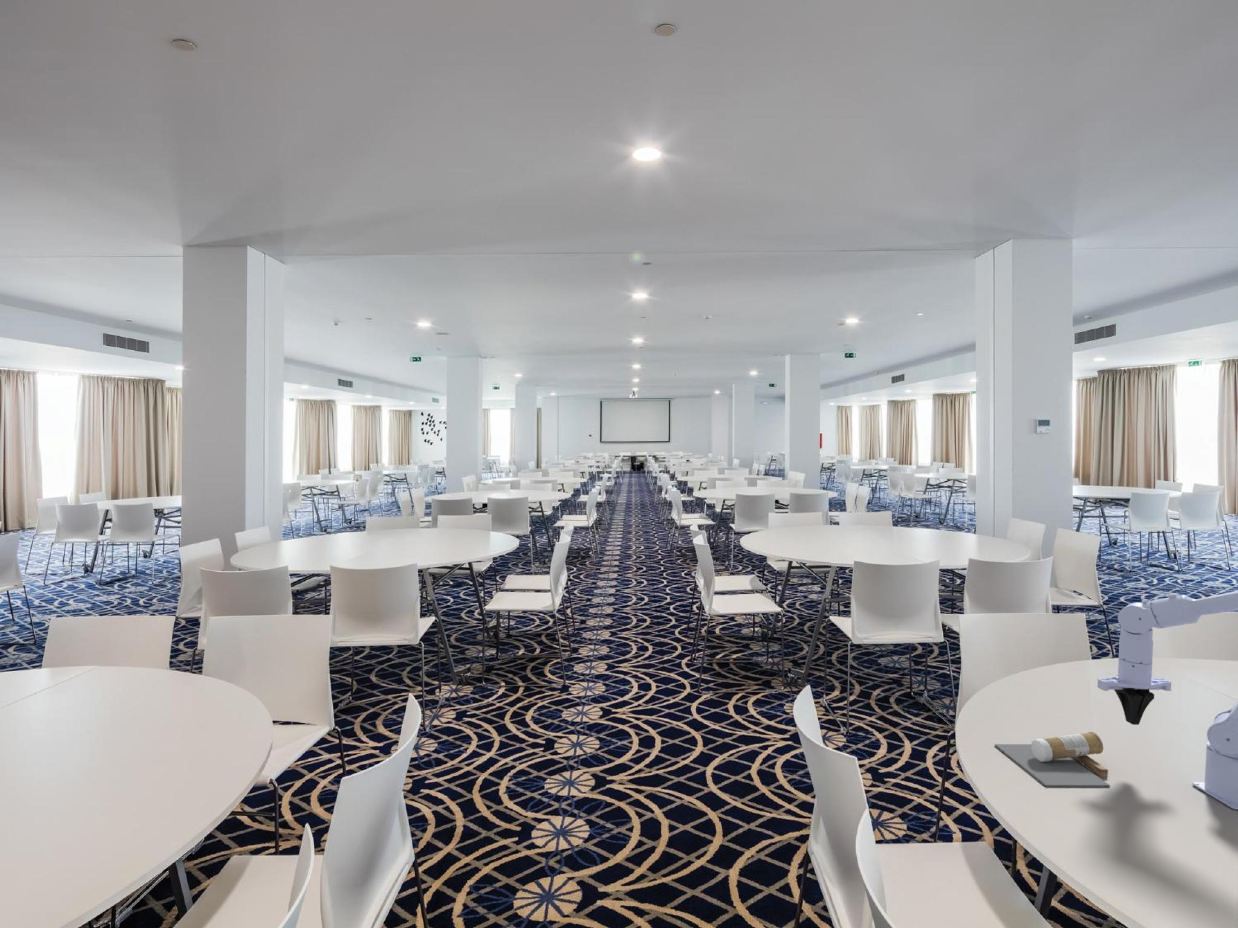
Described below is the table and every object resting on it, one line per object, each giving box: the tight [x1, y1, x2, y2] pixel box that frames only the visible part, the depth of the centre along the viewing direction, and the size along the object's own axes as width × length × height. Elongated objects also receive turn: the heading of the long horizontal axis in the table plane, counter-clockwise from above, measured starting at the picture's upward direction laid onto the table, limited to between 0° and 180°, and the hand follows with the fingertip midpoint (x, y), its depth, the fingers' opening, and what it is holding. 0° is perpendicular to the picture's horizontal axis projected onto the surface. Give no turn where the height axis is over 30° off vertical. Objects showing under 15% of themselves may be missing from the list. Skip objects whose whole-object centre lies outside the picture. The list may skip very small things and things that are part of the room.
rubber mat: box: [994, 743, 1111, 788], centre depth 146 cm, size 18×13×1 cm
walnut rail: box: [1072, 755, 1109, 778], centre depth 146 cm, size 10×2×2 cm, turn 1°
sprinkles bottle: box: [1031, 731, 1104, 762], centre depth 148 cm, size 5×5×14 cm
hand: (1132, 722), depth 146 cm, fingers closed
